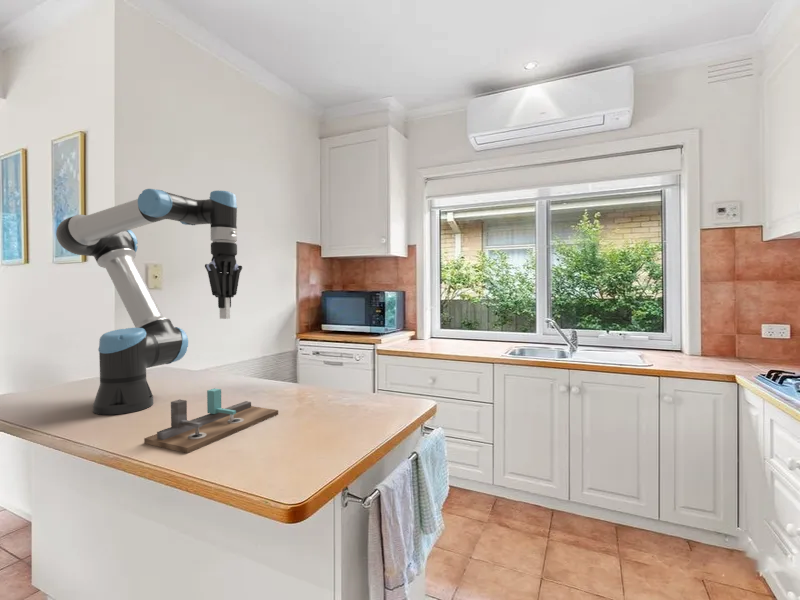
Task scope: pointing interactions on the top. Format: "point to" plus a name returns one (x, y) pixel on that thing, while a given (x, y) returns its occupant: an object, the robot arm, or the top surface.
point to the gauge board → (205, 426)
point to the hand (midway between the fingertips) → (224, 318)
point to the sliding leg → (217, 403)
